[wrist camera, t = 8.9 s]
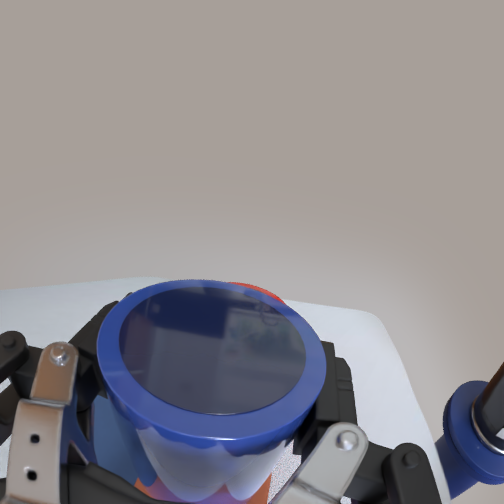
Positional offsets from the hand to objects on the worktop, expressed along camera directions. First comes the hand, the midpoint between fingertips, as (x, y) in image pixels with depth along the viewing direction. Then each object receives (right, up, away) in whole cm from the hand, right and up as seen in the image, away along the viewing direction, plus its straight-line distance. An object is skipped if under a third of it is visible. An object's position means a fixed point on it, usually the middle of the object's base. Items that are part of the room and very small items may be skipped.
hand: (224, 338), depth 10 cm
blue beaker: (-1, -7, 0) cm, 7 cm away
